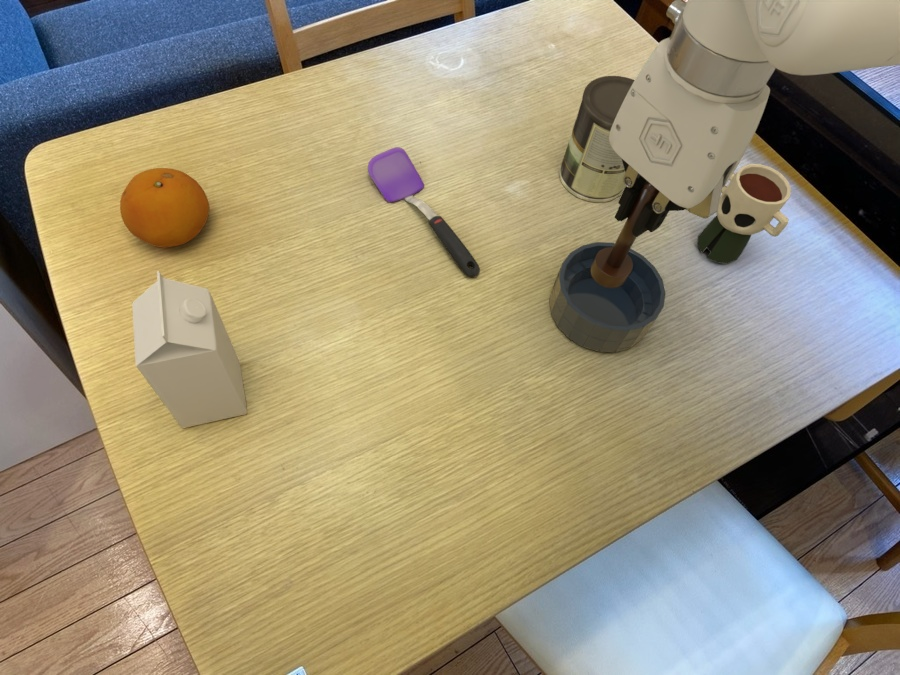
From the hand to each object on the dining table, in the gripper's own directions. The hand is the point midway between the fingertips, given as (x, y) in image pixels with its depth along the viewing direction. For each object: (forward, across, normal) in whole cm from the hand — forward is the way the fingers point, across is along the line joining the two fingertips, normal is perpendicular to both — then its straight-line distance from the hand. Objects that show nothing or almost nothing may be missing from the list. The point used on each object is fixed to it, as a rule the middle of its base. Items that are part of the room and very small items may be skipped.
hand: (635, 220), depth 61 cm
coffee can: (+23, -19, +22) cm, 37 cm away
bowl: (+22, -1, +5) cm, 23 cm away
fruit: (+23, -44, -33) cm, 59 cm away
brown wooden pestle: (+9, 0, 0) cm, 9 cm away
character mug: (+23, +1, +27) cm, 35 cm away
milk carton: (+23, -19, -40) cm, 50 cm away
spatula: (+23, -26, -4) cm, 35 cm away
